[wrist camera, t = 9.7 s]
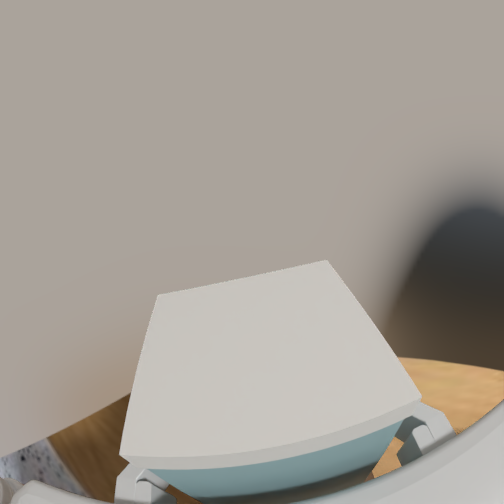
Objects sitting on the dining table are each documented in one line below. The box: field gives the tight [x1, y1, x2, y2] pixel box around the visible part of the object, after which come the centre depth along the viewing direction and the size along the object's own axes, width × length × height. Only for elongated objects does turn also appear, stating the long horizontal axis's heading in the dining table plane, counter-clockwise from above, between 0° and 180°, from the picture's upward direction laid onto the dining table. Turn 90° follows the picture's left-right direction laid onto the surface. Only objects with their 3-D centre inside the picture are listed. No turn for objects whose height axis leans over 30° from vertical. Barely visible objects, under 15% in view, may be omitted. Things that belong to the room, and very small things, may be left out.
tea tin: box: [119, 260, 422, 504], centre depth 9 cm, size 6×6×10 cm
